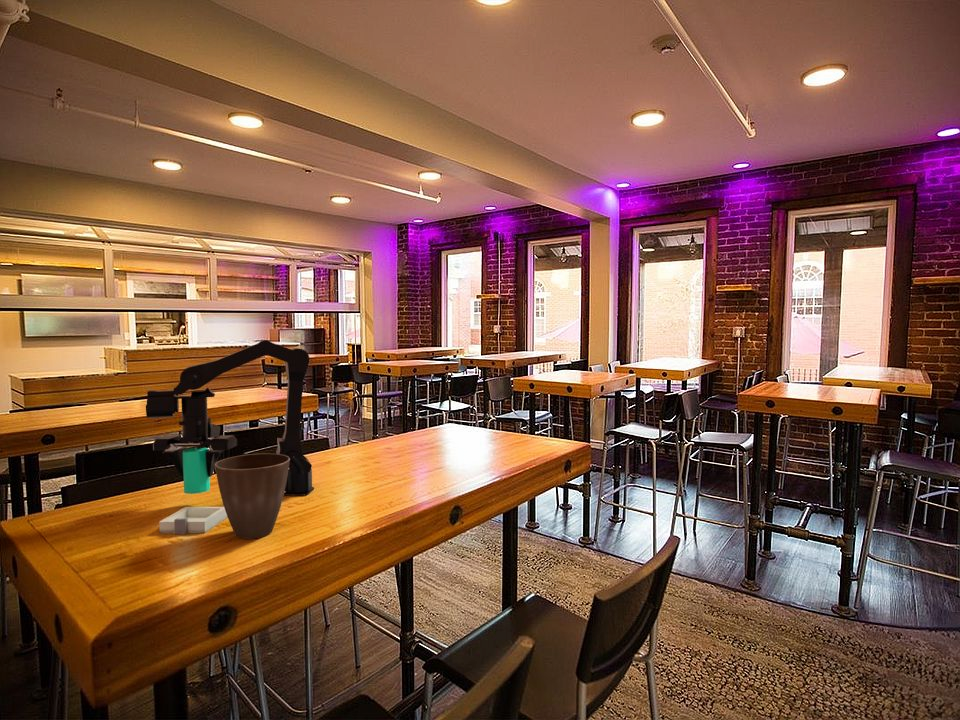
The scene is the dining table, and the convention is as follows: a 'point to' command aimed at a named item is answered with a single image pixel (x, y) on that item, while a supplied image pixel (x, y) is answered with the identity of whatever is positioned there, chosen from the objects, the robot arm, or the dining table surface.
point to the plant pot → (252, 491)
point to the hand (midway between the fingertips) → (196, 476)
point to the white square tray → (193, 520)
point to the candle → (195, 471)
